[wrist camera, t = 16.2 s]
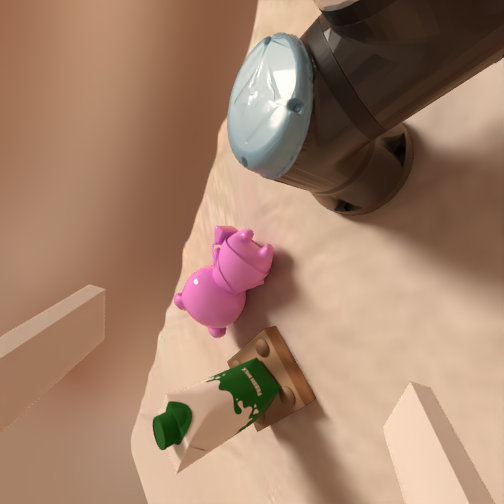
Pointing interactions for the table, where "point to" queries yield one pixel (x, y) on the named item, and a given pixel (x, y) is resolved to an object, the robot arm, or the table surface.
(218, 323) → the toy character
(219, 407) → the soya milk
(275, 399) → the base brick
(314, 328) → the table surface
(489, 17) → the robot arm
